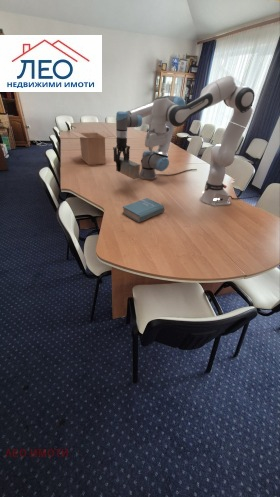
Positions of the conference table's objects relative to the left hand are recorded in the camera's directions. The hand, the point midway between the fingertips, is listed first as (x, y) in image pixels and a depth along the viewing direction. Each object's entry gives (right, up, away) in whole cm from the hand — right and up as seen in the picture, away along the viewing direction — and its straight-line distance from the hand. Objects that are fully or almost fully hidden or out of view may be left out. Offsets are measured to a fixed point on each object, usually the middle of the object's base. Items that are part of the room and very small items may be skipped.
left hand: (121, 170), depth 170 cm
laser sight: (+26, +30, +69) cm, 80 cm away
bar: (+5, -4, -4) cm, 8 cm away
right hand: (+24, +1, -28) cm, 37 cm away
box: (-36, +34, +67) cm, 83 cm away
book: (+16, -37, -22) cm, 46 cm away
